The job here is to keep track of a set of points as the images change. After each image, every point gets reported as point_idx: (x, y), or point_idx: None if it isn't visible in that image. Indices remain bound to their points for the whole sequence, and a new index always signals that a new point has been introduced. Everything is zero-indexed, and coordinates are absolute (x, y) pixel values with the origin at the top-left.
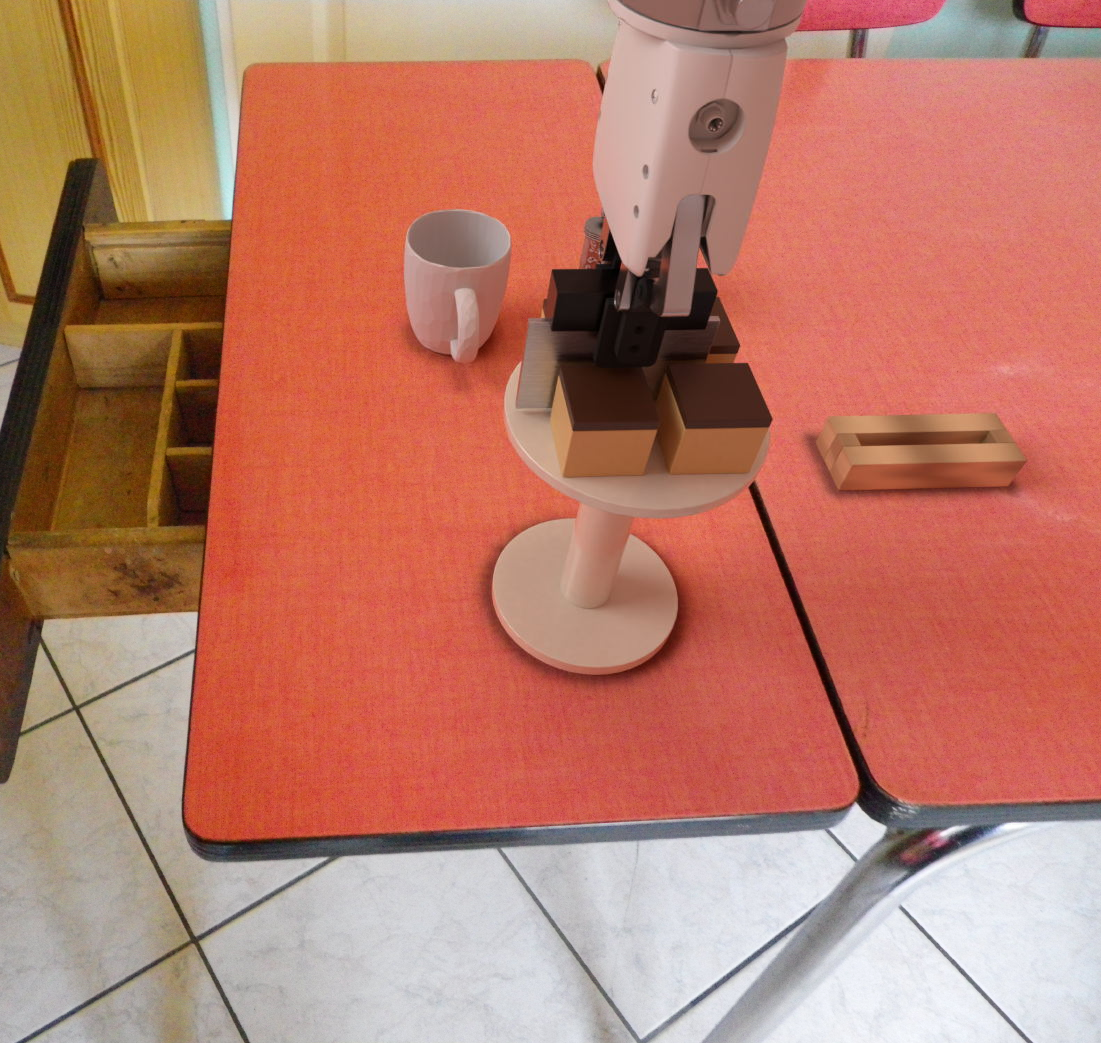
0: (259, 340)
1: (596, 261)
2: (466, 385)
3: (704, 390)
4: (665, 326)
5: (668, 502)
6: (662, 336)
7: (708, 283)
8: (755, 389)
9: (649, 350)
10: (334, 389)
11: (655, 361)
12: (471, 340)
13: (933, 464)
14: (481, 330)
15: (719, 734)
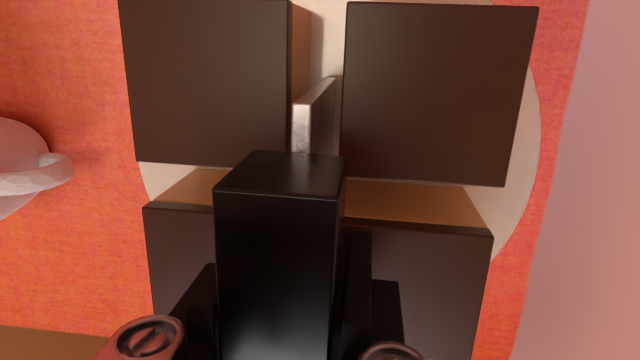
0: (58, 314)
1: None
2: (91, 152)
3: (424, 129)
4: (371, 283)
5: (525, 167)
6: (370, 266)
7: (298, 216)
8: (439, 16)
9: (399, 292)
10: (110, 264)
11: (371, 233)
12: (55, 174)
13: None
14: (24, 143)
15: (514, 5)
